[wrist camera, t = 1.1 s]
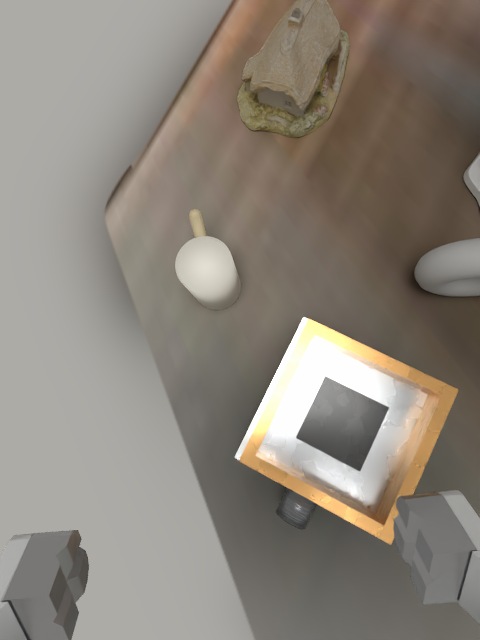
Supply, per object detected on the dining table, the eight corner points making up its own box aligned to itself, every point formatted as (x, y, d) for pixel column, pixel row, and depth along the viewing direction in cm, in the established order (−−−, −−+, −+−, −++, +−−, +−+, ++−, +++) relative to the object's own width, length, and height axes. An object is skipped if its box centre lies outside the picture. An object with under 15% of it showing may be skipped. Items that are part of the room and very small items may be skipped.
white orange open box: (300, 326, 43) (305, 310, 34) (426, 387, 41) (467, 386, 32) (227, 474, 41) (213, 498, 32) (355, 546, 39) (378, 592, 30)
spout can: (245, 304, 44) (238, 284, 36) (199, 315, 44) (181, 297, 36) (229, 231, 46) (218, 196, 37) (184, 242, 46) (163, 210, 38)
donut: (500, 268, 42) (567, 232, 32) (501, 301, 42) (570, 274, 32) (400, 266, 43) (436, 230, 33) (401, 298, 43) (437, 270, 33)
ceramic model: (310, 155, 46) (318, 93, 37) (224, 120, 48) (210, 51, 38) (363, 56, 48) (384, -30, 38) (278, 25, 50) (277, -65, 40)
